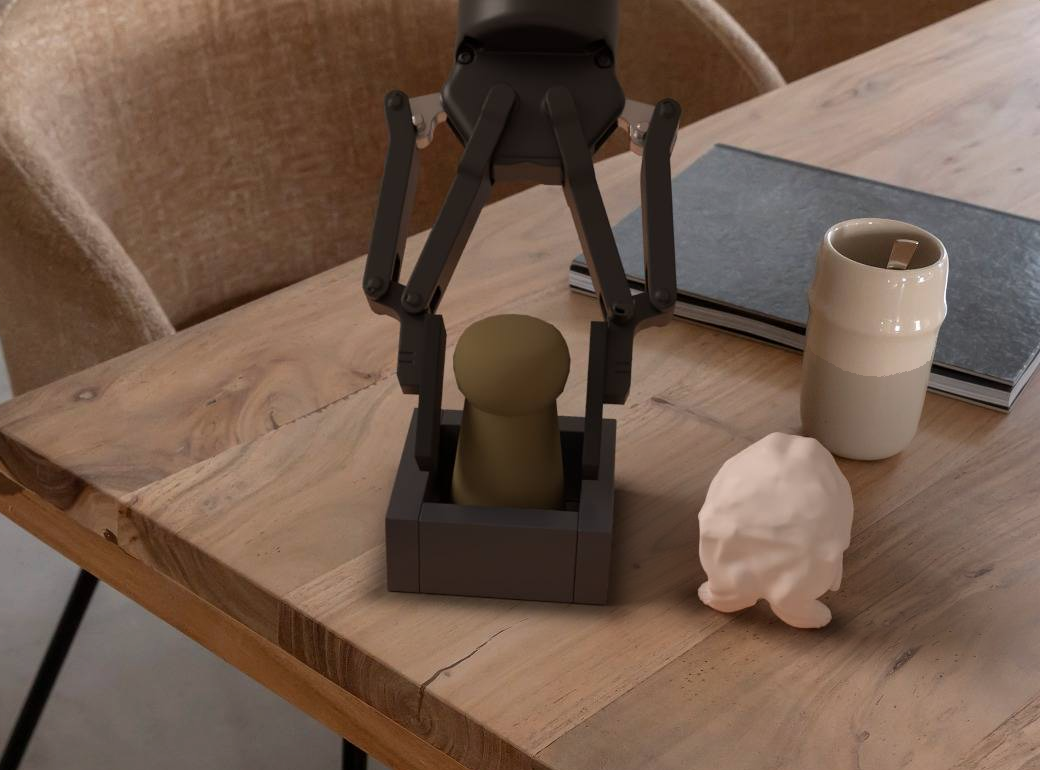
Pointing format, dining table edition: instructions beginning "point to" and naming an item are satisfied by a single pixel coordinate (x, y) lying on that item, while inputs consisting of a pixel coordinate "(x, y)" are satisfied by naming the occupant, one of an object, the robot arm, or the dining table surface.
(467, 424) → the cork
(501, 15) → the robot arm
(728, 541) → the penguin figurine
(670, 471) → the dining table surface
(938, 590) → the dining table surface
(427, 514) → the socket base
